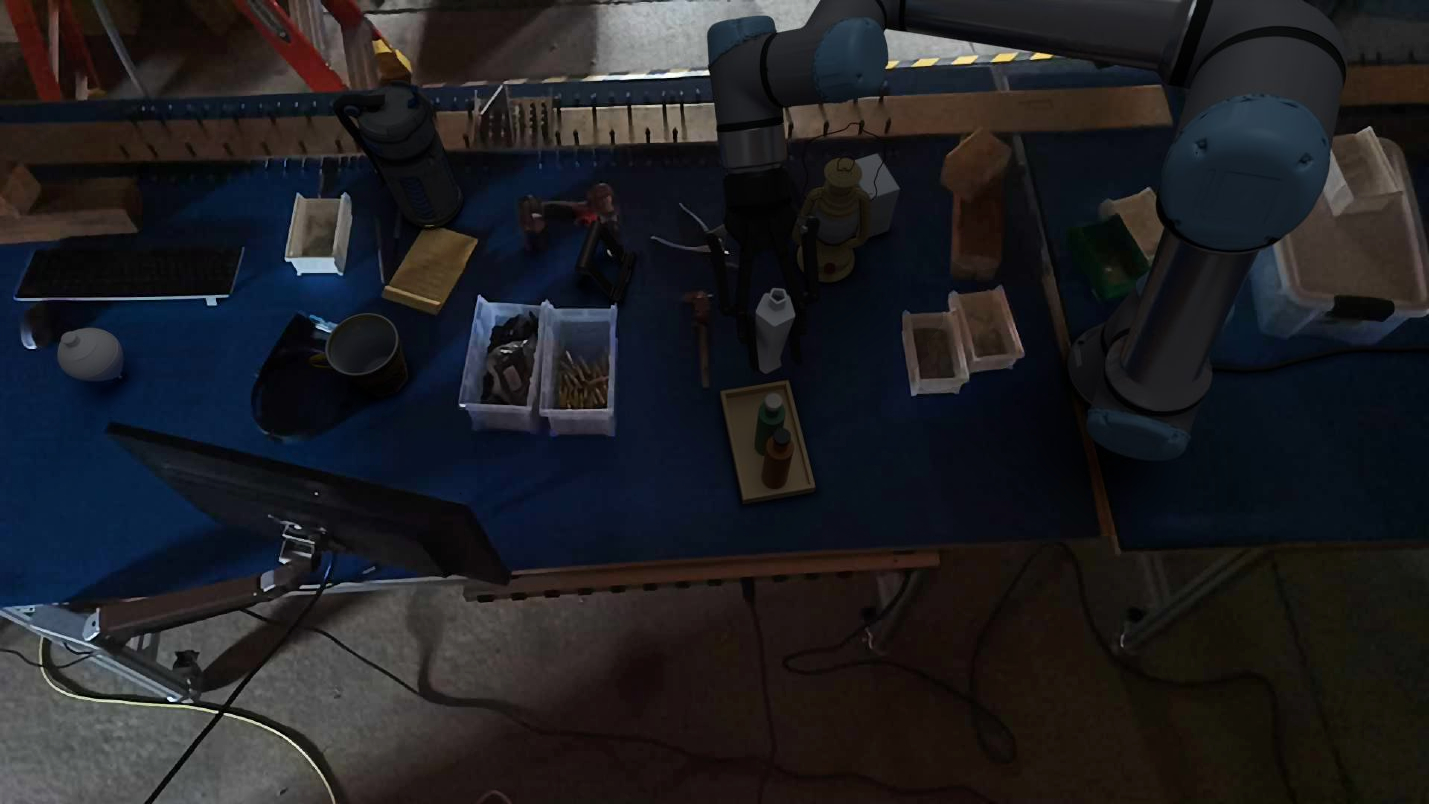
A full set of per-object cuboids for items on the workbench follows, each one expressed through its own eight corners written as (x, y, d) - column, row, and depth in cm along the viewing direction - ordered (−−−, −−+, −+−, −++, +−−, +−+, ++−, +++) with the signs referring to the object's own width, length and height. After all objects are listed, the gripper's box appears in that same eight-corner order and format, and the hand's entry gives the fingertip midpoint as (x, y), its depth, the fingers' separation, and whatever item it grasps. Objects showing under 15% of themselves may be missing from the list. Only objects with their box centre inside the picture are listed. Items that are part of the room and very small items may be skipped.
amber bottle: (784, 463, 122) (793, 420, 109) (789, 487, 121) (799, 446, 108) (759, 467, 122) (765, 425, 109) (764, 491, 120) (771, 451, 107)
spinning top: (90, 404, 126) (32, 365, 115) (98, 359, 129) (43, 316, 119) (144, 397, 127) (92, 357, 116) (151, 352, 130) (101, 309, 119)
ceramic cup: (415, 341, 131) (393, 305, 122) (424, 397, 127) (402, 365, 118) (328, 362, 129) (299, 327, 120) (334, 420, 125) (305, 388, 116)
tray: (787, 386, 128) (788, 379, 126) (814, 492, 121) (815, 487, 119) (720, 397, 127) (720, 390, 125) (742, 504, 120) (743, 499, 118)
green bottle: (776, 431, 124) (784, 385, 111) (781, 454, 123) (790, 410, 110) (752, 435, 124) (757, 390, 111) (757, 458, 122) (763, 415, 109)
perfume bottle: (792, 358, 111) (807, 294, 98) (770, 380, 109) (782, 318, 96) (764, 337, 112) (776, 271, 99) (742, 359, 111) (751, 294, 97)
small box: (888, 232, 141) (901, 189, 131) (857, 242, 140) (868, 200, 130) (867, 195, 144) (878, 151, 135) (836, 205, 143) (845, 161, 134)
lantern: (788, 285, 136) (808, 152, 109) (787, 234, 140) (806, 94, 113) (864, 287, 136) (903, 154, 109) (861, 236, 140) (897, 96, 113)
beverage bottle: (389, 186, 144) (330, 68, 122) (469, 179, 145) (425, 61, 122) (386, 235, 140) (324, 122, 117) (468, 228, 140) (422, 115, 118)
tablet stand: (622, 305, 134) (617, 274, 127) (574, 295, 135) (566, 264, 127) (636, 259, 138) (632, 226, 130) (589, 250, 139) (582, 217, 131)
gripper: (822, 155, 101) (837, 346, 109) (674, 176, 100) (700, 368, 107) (839, 158, 94) (854, 362, 102) (680, 181, 93) (708, 385, 100)
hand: (775, 364), depth 105 cm, fingers closed on perfume bottle, 4 cm apart
